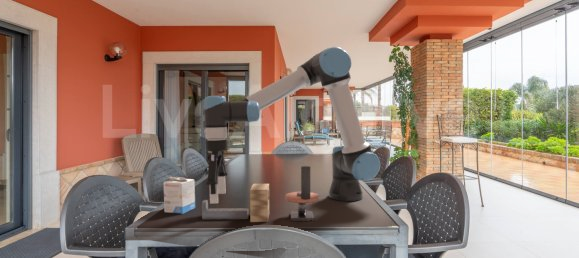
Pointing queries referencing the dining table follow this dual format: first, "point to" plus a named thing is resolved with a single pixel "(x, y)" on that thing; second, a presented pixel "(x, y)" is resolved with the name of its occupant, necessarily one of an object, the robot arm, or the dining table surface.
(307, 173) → the handwheel
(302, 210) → the wheel post
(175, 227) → the dining table surface
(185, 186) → the ink box
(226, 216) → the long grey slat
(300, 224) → the dining table surface
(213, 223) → the dining table surface
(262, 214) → the eye block
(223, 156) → the robot arm
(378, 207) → the dining table surface
